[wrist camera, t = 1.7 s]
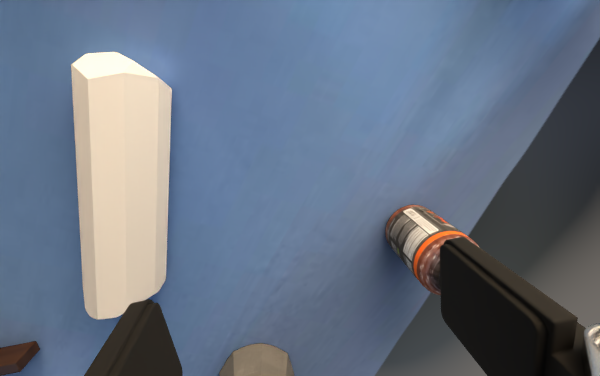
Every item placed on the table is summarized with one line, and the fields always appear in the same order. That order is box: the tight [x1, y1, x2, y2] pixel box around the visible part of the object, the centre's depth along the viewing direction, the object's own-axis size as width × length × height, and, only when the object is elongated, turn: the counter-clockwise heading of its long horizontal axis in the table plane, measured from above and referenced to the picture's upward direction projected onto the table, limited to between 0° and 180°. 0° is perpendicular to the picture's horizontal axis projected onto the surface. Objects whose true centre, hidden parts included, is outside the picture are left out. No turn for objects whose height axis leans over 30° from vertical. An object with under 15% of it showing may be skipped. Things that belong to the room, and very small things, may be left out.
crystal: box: [71, 52, 172, 320], centre depth 28 cm, size 7×7×24 cm
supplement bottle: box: [386, 205, 479, 295], centre depth 30 cm, size 6×6×11 cm
